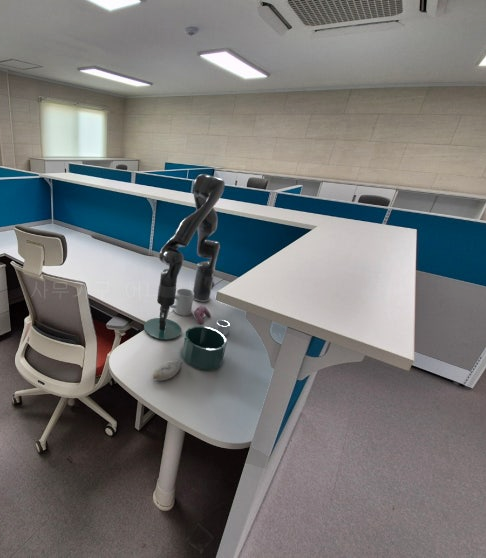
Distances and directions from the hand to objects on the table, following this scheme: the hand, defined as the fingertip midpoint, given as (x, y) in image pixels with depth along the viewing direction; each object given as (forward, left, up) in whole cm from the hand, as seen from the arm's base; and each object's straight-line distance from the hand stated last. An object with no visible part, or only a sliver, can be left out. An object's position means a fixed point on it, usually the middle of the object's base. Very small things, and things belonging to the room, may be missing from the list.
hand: (162, 325), depth 137 cm
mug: (-19, +6, -2) cm, 20 cm away
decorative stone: (+28, +6, -2) cm, 29 cm away
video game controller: (-16, +17, -2) cm, 23 cm away
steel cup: (-7, +26, -2) cm, 27 cm away
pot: (+14, +18, -2) cm, 23 cm away
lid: (0, 0, -2) cm, 2 cm away
